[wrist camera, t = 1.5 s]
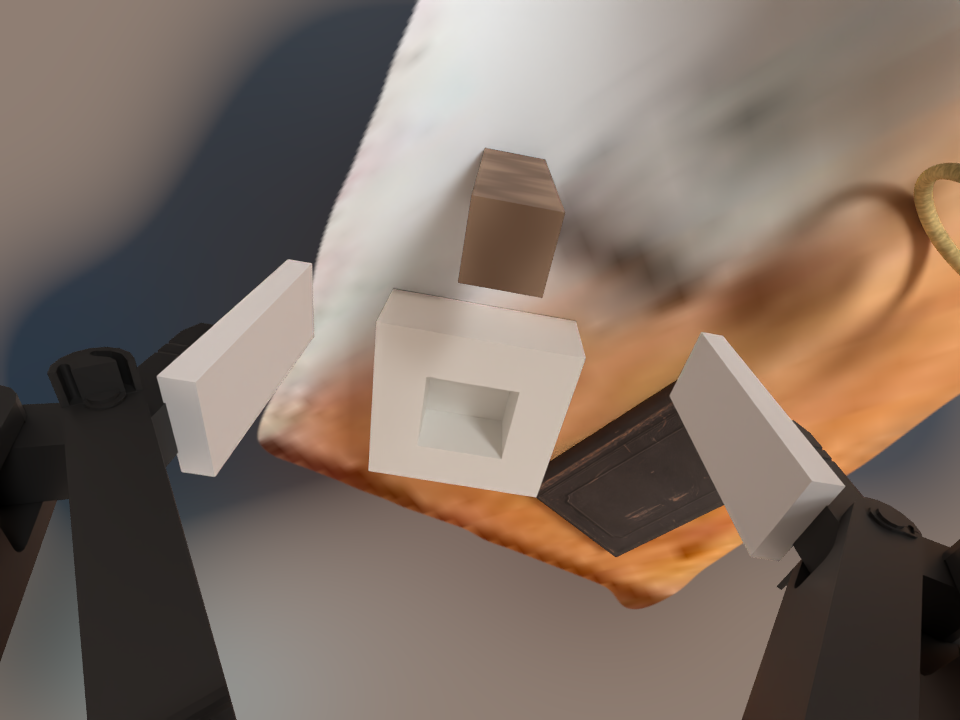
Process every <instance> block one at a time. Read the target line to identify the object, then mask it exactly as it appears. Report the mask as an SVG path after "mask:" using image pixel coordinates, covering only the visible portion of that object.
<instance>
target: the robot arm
mask: <svg viewBox="0 0 960 720" xmlns="http://www.w3.org/2000/svg"><path fill="white" fill-rule="evenodd" d="M313 337H314V314H313V281H312V263H306V262H301V261H295V260H289V259H288V260H287V261H286V262H284V264H282V265H281V266H280V267H279V268H278V269H277V270H275V271H274V272H273V273H272V274H271V275H270V276H269V277H268V278H266V279H265V280H264V281H263V282H262V283H261V284H260V285H259V286H258V287H256V288H255V289H254V290H253V291H252V292H251V293H250V294H249V295H247V296H246V297H245V298H244V299H243V300H242V301H241V302H239V303H238V304H237V305H236V306H235V307H234V308H233V309H232V310H231V311H229V312H228V313H227V314H226V315H225V316H224V317H223V318H221V319H220V320H219V321H218V322H217V323H216V324H215V325H211V324H204V323H200V324H198V325H195V326H192V327H190V328H188V329H185V330H183V331H181V332H180V333H179V334H177V335H176V336H175V337H174V338H172V339H171V340H170V341H169V344H165V345H164V346H163V347H162V348H160V349H159V350H158V353H154V354H153V355H152V356H150V357H149V358H148V359H147V360H146V361H144V362H143V363H142V364H141V365H140V366H138V367H137V366H136V362H135V359H134V357H133V356H132V355H131V353H130V352H127V351H125V350H122V349H120V348H110V347H101V348H89V349H85V350H82V351H77V352H73V353H71V354H69V355H67V356H64V357H62V358H60V359H58V360H57V361H56V362H55V363H53V364H52V365H51V366H50V368H49V371H48V376H49V379H50V381H51V383H52V386H53V388H54V391H55V393H56V395H57V398H58V400H59V403H48V404H30V405H29V404H27V405H22V404H21V402H20V400H19V398H18V396H17V394H16V393H15V392H14V391H13V390H12V389H11V388H9V387H5V386H1V385H0V661H1V658H2V655H3V652H4V649H5V647H6V644H7V641H8V638H9V635H10V632H11V629H12V627H13V623H14V621H15V618H16V615H17V612H18V610H19V607H20V604H21V601H22V598H23V595H24V592H25V589H26V586H27V584H28V581H29V578H30V575H31V573H32V570H33V567H34V564H35V561H36V558H37V556H38V553H39V550H40V547H41V544H42V541H43V538H44V536H45V533H46V530H47V527H48V524H49V521H50V518H51V516H52V513H53V510H54V507H55V504H56V501H57V500H63V499H69V503H70V514H71V527H72V540H73V552H74V564H75V576H76V588H77V601H78V612H79V625H80V637H81V649H82V661H83V674H84V684H85V685H84V686H85V698H86V710H87V720H237V719H236V716H235V712H234V709H233V705H232V702H231V698H230V695H229V691H228V687H227V684H226V680H225V677H224V673H223V670H222V666H221V663H220V659H219V656H218V652H217V648H216V645H215V642H214V638H213V634H212V631H211V628H210V624H209V620H208V616H207V613H206V610H205V606H204V602H203V599H202V595H201V592H200V588H199V585H198V581H197V577H196V574H195V570H194V567H193V563H192V560H191V556H190V553H189V549H188V546H187V542H186V538H185V534H184V531H183V527H182V524H181V520H180V517H179V513H178V510H177V506H176V503H175V499H174V495H173V492H172V488H171V485H170V481H169V478H168V474H167V471H166V466H167V465H168V464H169V463H170V462H171V460H172V459H173V458H174V457H175V456H176V454H177V456H178V460H179V464H180V468H181V471H182V472H186V473H193V474H199V475H206V476H213V477H215V476H216V475H217V473H218V472H219V470H220V469H221V468H222V466H223V465H224V463H225V462H226V460H227V459H228V458H229V456H230V455H231V453H232V452H233V451H234V449H235V448H236V446H237V445H238V444H239V442H240V441H241V439H242V438H243V436H244V435H245V433H246V432H247V431H248V429H249V428H250V427H251V425H252V424H253V422H254V421H255V419H256V418H257V417H258V415H259V414H260V412H261V411H262V410H263V408H264V407H265V405H266V404H267V402H268V401H269V400H270V398H271V397H272V395H273V394H274V393H275V391H276V390H277V388H278V387H279V385H280V384H281V383H282V381H283V380H284V378H285V377H286V376H287V374H288V373H289V371H290V370H291V368H292V367H293V366H294V364H295V363H296V361H297V360H298V359H299V357H300V356H301V354H302V353H303V351H304V350H305V349H306V347H307V346H308V344H309V343H310V342H311V340H312V339H313ZM670 398H671V400H672V402H673V404H674V406H675V408H676V410H677V412H678V414H679V416H680V418H681V420H682V422H683V424H684V426H685V428H686V430H687V432H688V434H689V436H690V438H691V440H692V442H693V444H694V446H695V448H696V450H697V452H698V454H699V456H700V458H701V460H702V462H703V464H704V466H705V468H706V470H707V472H708V474H709V476H710V478H711V480H712V482H713V483H714V485H715V487H716V489H717V491H718V493H719V495H720V497H721V499H722V501H723V503H724V505H725V507H726V509H727V511H728V513H729V515H730V517H731V519H732V521H733V523H734V525H735V527H736V529H737V531H738V533H739V535H740V537H741V539H742V541H743V543H744V545H745V547H746V549H747V551H748V553H749V555H750V557H755V558H761V559H768V560H776V561H780V560H781V559H782V558H783V557H784V556H785V554H786V553H787V552H788V551H789V550H790V549H791V548H792V547H793V546H794V547H795V549H796V551H797V552H798V554H799V556H800V557H801V559H802V560H801V561H800V562H799V563H798V564H797V565H796V566H795V567H794V568H793V569H792V570H791V571H790V573H789V574H788V575H787V576H786V577H785V578H784V579H783V580H782V581H781V582H780V584H779V585H778V586H777V587H778V588H780V589H781V590H782V589H783V588H784V587H785V586H787V588H786V591H785V594H784V597H783V600H782V603H781V606H780V609H779V612H778V615H777V617H776V620H775V623H774V626H773V629H772V632H771V635H770V638H769V641H768V644H767V647H766V650H765V653H764V656H763V659H762V662H761V665H760V668H759V671H758V674H757V677H756V680H755V682H754V686H753V688H752V691H751V694H750V697H749V700H748V703H747V706H746V709H745V712H744V715H743V718H742V720H960V540H958V541H957V542H956V543H955V544H954V545H953V546H951V547H947V546H945V545H942V544H940V543H937V542H934V541H932V540H929V539H926V538H924V537H922V534H921V532H920V531H919V530H918V529H917V527H916V526H915V525H914V523H913V522H911V521H910V520H909V519H908V518H907V517H906V516H904V515H903V514H902V513H901V512H899V511H897V510H896V509H894V508H893V507H891V506H889V505H887V504H885V503H883V502H880V501H878V500H875V499H871V498H867V497H863V496H862V494H861V493H860V492H859V491H858V489H857V488H856V487H855V486H854V485H853V484H852V482H851V481H850V480H849V479H848V478H847V476H846V475H845V474H844V473H843V472H842V470H841V469H840V468H839V467H838V466H837V464H836V463H835V462H833V461H831V459H832V458H831V457H830V456H829V455H828V454H827V452H826V451H825V450H822V446H821V445H820V444H819V443H818V442H817V440H816V439H815V438H814V437H813V436H812V435H811V433H809V432H808V431H807V430H805V429H804V428H803V427H802V426H800V425H799V424H798V423H796V422H795V421H794V420H791V419H790V418H789V416H788V415H787V414H786V413H785V412H784V410H783V409H782V408H781V407H780V405H779V404H778V403H777V402H776V400H775V399H774V398H773V397H772V396H771V394H770V393H769V392H768V391H767V389H766V388H765V387H764V386H763V385H762V383H761V382H760V381H759V380H758V378H757V377H756V376H755V375H754V373H753V372H752V371H751V370H750V369H749V367H748V366H747V365H746V364H745V362H744V361H743V360H742V359H741V357H740V356H739V355H738V354H737V353H736V351H735V350H734V349H733V348H732V346H731V345H730V344H729V343H728V342H727V340H726V339H725V338H724V337H723V336H721V335H715V334H710V333H704V332H701V333H700V336H699V338H698V340H697V342H696V344H695V346H694V348H693V350H692V352H691V354H690V356H689V358H688V360H687V362H686V364H685V366H684V368H683V370H682V372H681V374H680V376H679V378H678V380H677V382H676V384H675V386H674V388H673V390H672V392H671V394H670Z"/></svg>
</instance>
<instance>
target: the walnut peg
mask: <svg viewBox="0 0 960 720" xmlns="http://www.w3.org/2000/svg"><path fill="white" fill-rule="evenodd" d="M564 215H565V211H564V208H563V206H562V203H561V200H560V198H559V195H558V192H557V190H556V187H555V184H554V182H553V179H552V176H551V174H550V171H549V168H548V166H547V163H546V160H544V159H539V158H534V157H529V156H524V155H519V154H514V153H509V152H503V151H498V150H493V149H488V148H485V150H484V153H483V157H482V160H481V164H480V167H479V171H478V174H477V178H476V181H475V185H474V188H473V192H472V195H471V202H470V208H469V215H468V221H467V227H466V234H465V240H464V247H463V253H462V260H461V266H460V273H459V279H458V283H463V284H468V285H474V286H479V287H485V288H491V289H496V290H502V291H507V292H513V293H518V294H524V295H529V296H535V297H541V298H542V297H543V293H544V289H545V286H546V282H547V278H548V274H549V271H550V267H551V263H552V260H553V256H554V252H555V248H556V245H557V241H558V237H559V234H560V230H561V226H562V222H563V219H564Z"/></svg>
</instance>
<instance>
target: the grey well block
mask: <svg viewBox="0 0 960 720" xmlns="http://www.w3.org/2000/svg"><path fill="white" fill-rule="evenodd" d="M585 359H586V357H585V353H584V350H583V346H582V342H581V338H580V334H579V331H578V327H577V323H576V321H572V320H567V319H561V318H555V317H550V316H544V315H539V314H533V313H527V312H522V311H516V310H510V309H505V308H499V307H494V306H488V305H482V304H477V303H471V302H465V301H460V300H454V299H449V298H443V297H437V296H432V295H426V294H421V293H415V292H409V291H404V290H398V289H393V290H392V292H391V294H390V296H389V298H388V300H387V302H386V304H385V306H384V308H383V310H382V311H381V313H380V315H379V317H378V319H377V321H376V335H375V354H374V373H373V393H372V412H371V431H370V451H369V470H368V471H372V472H379V473H385V474H391V475H398V476H404V477H410V478H417V479H423V480H429V481H436V482H442V483H448V484H454V485H461V486H467V487H473V488H480V489H486V490H492V491H499V492H505V493H511V494H518V495H524V496H530V497H537V494H538V491H539V489H540V486H541V483H542V480H543V477H544V475H545V472H546V469H547V466H548V463H549V461H550V458H551V455H552V452H553V449H554V446H555V444H556V441H557V438H558V435H559V432H560V430H561V427H562V424H563V421H564V418H565V415H566V413H567V410H568V407H569V404H570V401H571V399H572V396H573V393H574V390H575V387H576V385H577V382H578V379H579V376H580V373H581V370H582V368H583V365H584V362H585Z"/></svg>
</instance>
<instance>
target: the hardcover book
mask: <svg viewBox="0 0 960 720" xmlns="http://www.w3.org/2000/svg"><path fill="white" fill-rule="evenodd" d="M676 382H677V380H676V381H675V382H673V383H672V384H670V385H669V386H667V387H666V388H664V389H662V390H661V391H659V392H658V393H656V394H655V395H653V396H651V397H650V398H648V399H647V400H645V401H644V402H642V403H641V404H639V405H637V406H636V407H634V408H633V409H631V410H630V411H628V412H627V413H625V414H623V415H622V416H620V417H619V418H617V419H616V420H614V421H612V422H611V423H609V424H608V425H606V426H605V427H603V428H602V429H600V430H598V431H597V432H595V433H594V434H592V435H591V436H589V437H588V438H586V439H584V440H583V441H581V442H580V443H578V444H577V445H575V446H573V447H572V448H570V449H569V450H567V451H566V452H564V453H563V454H561V455H559V456H558V457H556V458H555V459H553V460H552V461H550V462H549V463H548V466H547V469H546V472H545V475H544V477H543V480H542V483H541V486H540V489H539V491H538V494H537V497H536V498H537V499H539V500H540V501H541V502H543V503H544V504H545V505H547V506H548V507H549V508H551V509H552V510H553V511H555V512H556V513H557V514H559V515H560V516H561V517H563V518H564V519H565V520H567V521H568V522H569V523H571V524H572V525H573V526H575V527H576V528H577V529H579V530H580V531H581V532H583V533H584V534H585V535H587V536H588V537H589V538H591V539H592V540H593V541H595V542H596V543H597V544H599V545H600V546H601V547H603V548H604V549H605V550H607V551H608V552H609V553H611V554H612V555H613V556H615V557H618V556H620V555H622V554H624V553H626V552H628V551H630V550H632V549H634V548H636V547H638V546H640V545H642V544H644V543H647V542H649V541H651V540H653V539H655V538H657V537H659V536H661V535H663V534H665V533H667V532H669V531H671V530H673V529H675V528H677V527H679V526H681V525H684V524H686V523H688V522H690V521H692V520H694V519H696V518H698V517H700V516H702V515H704V514H706V513H708V512H710V511H712V510H714V509H716V508H718V507H721V506H723V505H724V503H723V501H722V499H721V497H720V495H719V493H718V491H717V489H716V487H715V485H714V483H713V482H712V480H711V478H710V476H709V474H708V472H707V470H706V468H705V466H704V464H703V462H702V460H701V458H700V456H699V454H698V452H697V450H696V448H695V446H694V444H693V442H692V440H691V438H690V436H689V434H688V432H687V430H686V428H685V426H684V424H683V422H682V420H681V418H680V416H679V414H678V412H677V410H676V408H675V406H674V404H673V402H672V400H671V398H670V394H671V392H672V390H673V388H674V386H675V384H676Z"/></svg>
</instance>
